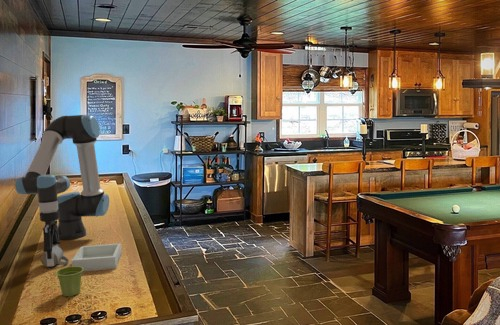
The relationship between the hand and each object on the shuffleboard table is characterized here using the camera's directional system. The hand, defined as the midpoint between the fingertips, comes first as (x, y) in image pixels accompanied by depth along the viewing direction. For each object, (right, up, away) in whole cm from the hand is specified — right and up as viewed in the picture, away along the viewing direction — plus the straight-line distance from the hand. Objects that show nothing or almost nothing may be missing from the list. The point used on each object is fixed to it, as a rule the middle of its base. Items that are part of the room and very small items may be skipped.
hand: (53, 262), depth 201 cm
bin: (+19, 0, +1) cm, 19 cm away
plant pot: (+21, -4, -33) cm, 39 cm away
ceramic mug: (+1, -1, +1) cm, 2 cm away
